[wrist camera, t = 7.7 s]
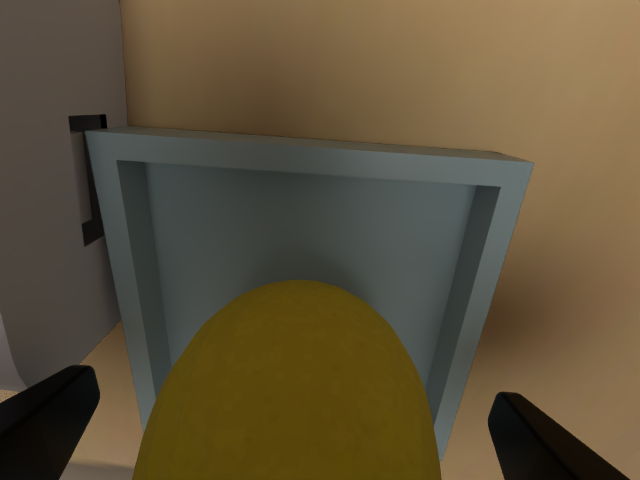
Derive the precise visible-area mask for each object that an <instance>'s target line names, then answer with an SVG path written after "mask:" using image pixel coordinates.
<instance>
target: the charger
mask: <svg viewBox="0 0 640 480" xmlns="http://www.w3.org/2000/svg"><path fill="white" fill-rule="evenodd" d="M100 114H106V118H107V128H115V127H124V126H128V123H127V106H126V89H125V72H124V56H123V40H122V26H121V11H120V5H119V1H118V0H0V389H2V390H10V391H18V392H22V391H24V390H26V389H27V388H29V387H31V386H33V385H35V384H37V383H38V382H40V381H42V380H44V379H46V378H48V377H50V376H51V375H53V374H55V373H57V372H59V371H61V370H63V369H64V368H66V367H68V366H71V365H79V363H80V362H81V361H82V360H83V359H84V358H85V357H86V356H87V355H88V354H89V353H90V352H91V351H92V350H93V349H94V348H95V347H96V345H97V344H98V343H99V342H100V341H101V340H102V339H103V338H104V337H105V336H106V335H107V334H108V333H109V332H110V331H111V330H112V329H113V328H114V326H115V325H116V324H117V323H118V322H119V321H120V320H121V314H120V309H119V304H118V299H117V294H116V288H115V283H114V278H113V273H112V268H111V263H110V258H109V253H108V247H107V242H106V237H105V232H104V227H103V222H102V217H101V212H100V206H99V201H98V196H97V191H96V186H95V181H94V176H93V171H92V165H91V160H90V155H89V150H88V145H87V140H86V135H85V131H89V130H98V129H101V122H100Z"/></svg>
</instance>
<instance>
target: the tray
mask: <svg viewBox="0 0 640 480" xmlns="http://www.w3.org/2000/svg"><path fill="white" fill-rule="evenodd" d="M85 135H86V140H87V145H88V150H89V155H90V160H91V165H92V171H93V176H94V181H95V186H96V191H97V196H98V201H99V206H100V212H101V217H102V222H103V227H104V232H105V237H106V242H107V247H108V253H109V258H110V263H111V268H112V273H113V278H114V283H115V288H116V294H117V299H118V304H119V309H120V314H121V319H122V324H123V330H124V335H125V340H126V345H127V350H128V355H129V360H130V365H131V371H132V376H133V381H134V386H135V391H136V396H137V401H138V406H139V412H140V417H141V422H142V427H143V432H145V429H146V425H147V422H148V419H149V416H150V414H151V411H152V408H153V406H154V403H155V401H156V398H157V396H158V394H159V392H160V390H161V387H162V385H163V383H164V381H165V379H166V378H167V376H168V374H169V372H170V371H171V369H172V367H173V366H174V364H175V363H176V361H177V360H178V358H179V357H180V356H181V354H182V353H183V351H184V350H185V348H186V347H187V345H188V344H189V343H190V341H191V340H192V338H193V337H194V335H195V334H196V333H197V331H198V330H199V329H200V328H201V327H202V326H203V324H204V323H205V322H206V321H207V320H209V319H210V318H211V317H212V316H213V315H214V314H215V313H217V312H218V311H219V310H220V309H222V308H223V307H224V306H225V305H227V304H228V303H229V302H231V301H232V300H233V299H235V298H236V297H238V296H239V295H241V294H243V293H246V292H248V291H251V290H253V289H255V288H258V287H260V286H263V285H265V284H269V283H274V282H280V281H286V280H314V281H319V282H323V283H326V284H330V285H334V286H338V287H340V288H342V289H344V290H345V291H347V292H349V293H351V294H353V295H355V296H357V297H359V298H360V299H362V300H364V301H365V302H366V303H367V304H369V305H370V306H371V307H372V308H373V309H374V310H375V311H376V312H377V313H379V314H380V315H381V316H382V317H383V318H384V319H385V320H386V321H387V322H388V323H389V324H390V325H391V327H392V328H393V329H394V331H395V332H396V334H397V336H398V337H399V339H400V341H401V342H402V344H403V346H404V347H405V349H406V350H407V352H408V354H409V356H410V357H411V359H412V361H413V363H414V364H415V367H416V369H417V371H418V373H419V375H420V378H421V380H422V383H423V386H424V389H425V392H426V395H427V399H428V403H429V407H430V411H431V416H432V421H433V426H434V432H435V437H436V443H437V448H438V454H439V461H442V459H443V456H444V453H445V449H446V446H447V443H448V440H449V436H450V433H451V430H452V427H453V424H454V420H455V417H456V414H457V411H458V407H459V404H460V401H461V398H462V395H463V391H464V388H465V385H466V382H467V378H468V375H469V372H470V369H471V366H472V362H473V359H474V356H475V353H476V349H477V346H478V343H479V340H480V337H481V333H482V330H483V327H484V324H485V320H486V317H487V314H488V311H489V308H490V304H491V301H492V298H493V295H494V291H495V288H496V285H497V282H498V279H499V275H500V272H501V269H502V266H503V262H504V259H505V256H506V253H507V250H508V246H509V243H510V240H511V237H512V233H513V230H514V227H515V224H516V221H517V217H518V214H519V211H520V208H521V204H522V201H523V198H524V195H525V191H526V188H527V185H528V182H529V179H530V175H531V172H532V169H533V166H534V162H530V161H526V160H523V159H519V158H516V157H512V156H509V155H505V154H502V153H498V152H489V151H474V150H460V149H446V148H432V147H418V146H404V145H390V144H376V143H362V142H348V141H334V140H320V139H305V138H291V137H277V136H263V135H249V134H235V133H221V132H207V131H193V130H179V129H165V128H150V127H136V126H124V127H115V128H106V129H98V130H89V131H85Z"/></svg>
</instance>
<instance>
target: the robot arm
mask: <svg viewBox="0 0 640 480" xmlns="http://www.w3.org/2000/svg"><path fill="white" fill-rule="evenodd" d="M99 399H100V390H99V386H98V383H97V379H96V375H95V371H94V369H93V368H92V367H91V366H86V365H71V366H68V367H66V368H64V369H63V370H61V371H59V372H57V373H55V374H53V375H51V376H50V377H48V378H46V379H44V380H42V381H40V382H38V383H37V384H35V385H33V386H31V387H29V388H27V389H26V390H24V391H22V392H20V393H18V394H16V395H14V396H13V397H11V398H9V399H7V400H5V401H3V402H1V403H0V480H59V479H60V477H61V475H62V473H63V471H64V469H65V468H66V466H67V464H68V462H69V460H70V458H71V456H72V454H73V452H74V450H75V448H76V446H77V444H78V442H79V440H80V438H81V437H82V435H83V433H84V431H85V429H86V427H87V425H88V423H89V421H90V419H91V417H92V415H93V413H94V411H95V409H96V407H97V405H98V403H99ZM488 427H489V431H490V434H491V438H492V441H493V444H494V447H495V450H496V454H497V457H498V460H499V463H500V467H501V470H502V473H503V476H504V479H505V480H630V479H629V478H628V477H626V476H625V475H624V474H622V473H621V472H620V471H619V470H617V469H616V468H615V467H613V466H612V465H611V464H609V463H608V462H607V461H606V460H604V459H603V458H602V457H600V456H599V455H598V454H597V453H595V452H594V451H593V450H591V449H590V448H589V447H588V446H586V445H585V444H584V443H582V442H581V441H580V440H579V439H577V438H576V437H575V436H573V435H572V434H571V433H570V432H568V431H567V430H566V429H564V428H563V427H562V426H561V425H559V424H558V423H557V422H555V421H554V420H553V419H552V418H550V417H549V416H548V415H546V414H545V413H544V412H543V411H541V410H540V409H539V408H537V407H536V406H535V405H534V404H532V403H531V402H530V401H528V400H527V399H526V398H525V397H523V396H522V395H520V394H518V393H514V392H499V393H498V394H497V395H496V397H495V400H494V403H493V406H492V408H491V411H490V414H489V417H488Z"/></svg>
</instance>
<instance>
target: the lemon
mask: <svg viewBox="0 0 640 480" xmlns="http://www.w3.org/2000/svg"><path fill="white" fill-rule="evenodd" d="M132 480H441V471H440V462H439V454H438V448H437V443H436V437H435V432H434V426H433V421H432V416H431V411H430V407H429V403H428V399H427V395H426V392H425V389H424V386H423V383H422V380H421V378H420V375H419V373H418V371H417V369H416V367H415V364H414V363H413V361H412V359H411V357H410V356H409V354H408V352H407V350H406V349H405V347H404V346H403V344H402V342H401V341H400V339H399V337H398V336H397V334H396V332H395V331H394V329H393V328H392V327H391V325H390V324H389V323H388V322H387V321H386V320H385V319H384V318H383V317H382V316H381V315H380V314H379V313H377V312H376V311H375V310H374V309H373V308H372V307H371V306H370V305H369V304H367V303H366V302H365V301H364V300H362V299H360V298H359V297H357V296H355V295H353V294H351V293H349V292H347V291H345V290H344V289H342V288H340V287H338V286H334V285H330V284H326V283H323V282H319V281H314V280H286V281H280V282H274V283H269V284H265V285H263V286H260V287H258V288H255V289H253V290H251V291H248V292H246V293H243V294H241V295H239V296H238V297H236V298H235V299H233V300H232V301H231V302H229V303H228V304H227V305H225V306H224V307H223V308H222V309H220V310H219V311H218V312H217V313H215V314H214V315H213V316H212V317H211V318H210V319H209V320H207V321H206V322H205V323H204V324H203V326H202V327H201V328H200V329H199V330H198V331H197V333H196V334H195V335H194V337H193V338H192V340H191V341H190V343H189V344H188V345H187V347H186V348H185V350H184V351H183V353H182V354H181V356H180V357H179V358H178V360H177V361H176V363H175V364H174V366H173V367H172V369H171V371H170V372H169V374H168V376H167V378H166V379H165V381H164V383H163V385H162V387H161V390H160V392H159V394H158V396H157V398H156V401H155V403H154V406H153V408H152V411H151V414H150V416H149V419H148V422H147V425H146V429H145V432H144V435H143V438H142V442H141V446H140V449H139V453H138V457H137V461H136V465H135V470H134V475H133V479H132Z"/></svg>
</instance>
